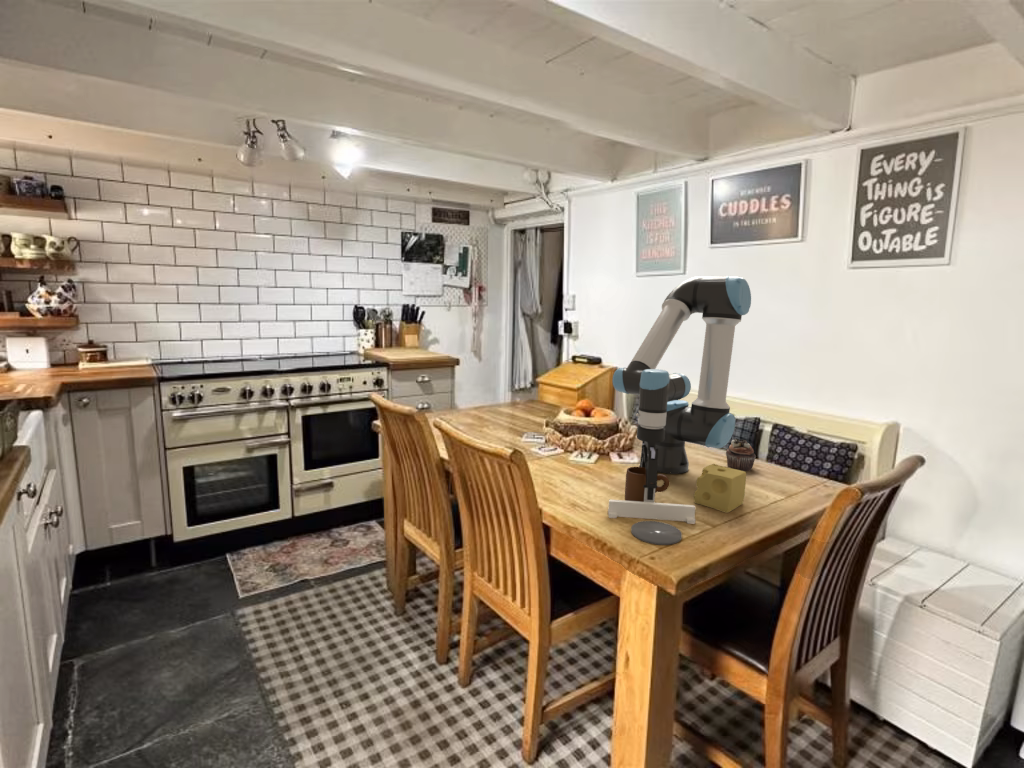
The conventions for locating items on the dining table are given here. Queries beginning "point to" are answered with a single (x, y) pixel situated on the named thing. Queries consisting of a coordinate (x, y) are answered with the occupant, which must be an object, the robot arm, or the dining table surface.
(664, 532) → the disc
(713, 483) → the cheese
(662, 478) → the mug
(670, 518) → the rail
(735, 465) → the cupcake
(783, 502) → the dining table surface
